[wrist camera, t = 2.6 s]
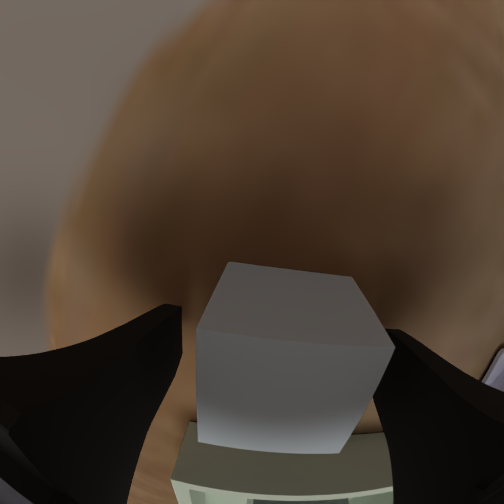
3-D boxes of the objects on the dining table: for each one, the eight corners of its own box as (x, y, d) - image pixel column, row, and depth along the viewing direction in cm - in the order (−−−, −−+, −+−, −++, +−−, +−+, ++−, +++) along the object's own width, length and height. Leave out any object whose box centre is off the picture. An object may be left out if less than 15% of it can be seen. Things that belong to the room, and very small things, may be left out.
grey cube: (351, 276, 10) (395, 347, 6) (324, 370, 11) (338, 453, 7) (228, 260, 10) (196, 328, 6) (221, 359, 11) (198, 441, 7)
